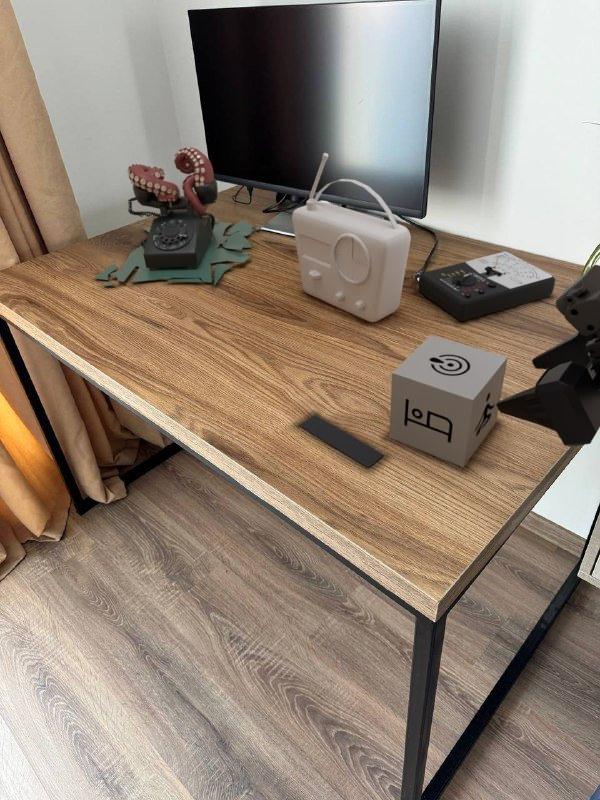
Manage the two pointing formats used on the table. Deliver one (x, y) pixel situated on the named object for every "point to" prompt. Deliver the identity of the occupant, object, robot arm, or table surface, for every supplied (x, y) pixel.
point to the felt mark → (342, 441)
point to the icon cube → (446, 398)
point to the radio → (351, 255)
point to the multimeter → (485, 285)
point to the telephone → (180, 226)
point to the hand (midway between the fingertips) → (517, 384)
